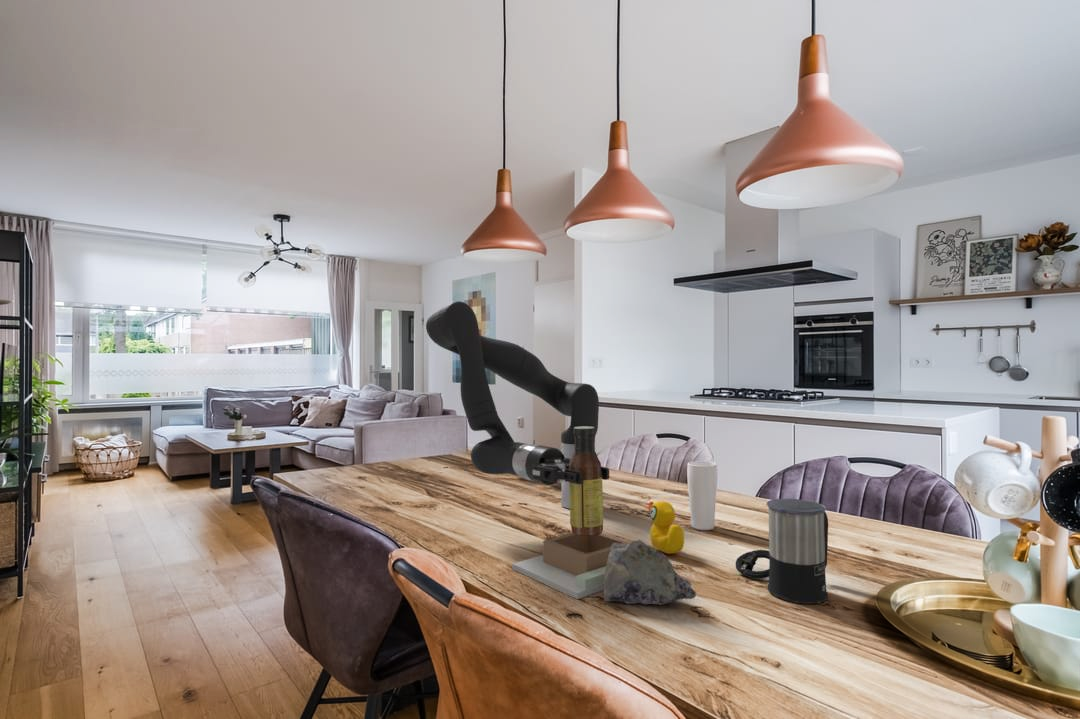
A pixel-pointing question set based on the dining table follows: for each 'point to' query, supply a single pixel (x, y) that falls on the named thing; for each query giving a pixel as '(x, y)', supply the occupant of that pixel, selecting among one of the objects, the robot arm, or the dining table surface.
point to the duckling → (665, 528)
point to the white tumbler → (702, 493)
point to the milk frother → (793, 551)
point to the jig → (571, 563)
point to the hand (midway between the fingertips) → (594, 476)
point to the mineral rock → (642, 576)
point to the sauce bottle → (586, 486)
